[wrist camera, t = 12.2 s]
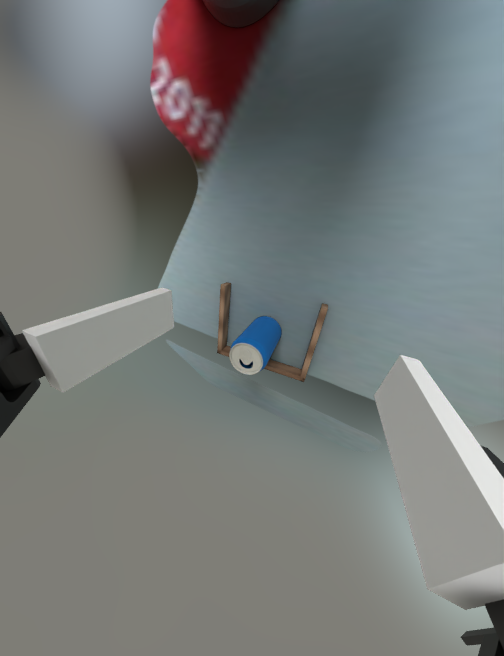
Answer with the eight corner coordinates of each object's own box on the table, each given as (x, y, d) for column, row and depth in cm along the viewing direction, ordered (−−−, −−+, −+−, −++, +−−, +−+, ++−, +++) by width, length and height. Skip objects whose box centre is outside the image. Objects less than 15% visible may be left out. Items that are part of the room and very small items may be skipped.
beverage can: (252, 340, 42) (227, 372, 32) (252, 312, 39) (225, 337, 29) (281, 345, 40) (264, 381, 30) (283, 317, 37) (266, 345, 27)
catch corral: (226, 282, 38) (220, 284, 36) (327, 304, 33) (327, 308, 31) (222, 347, 46) (217, 352, 44) (305, 374, 40) (303, 381, 38)
